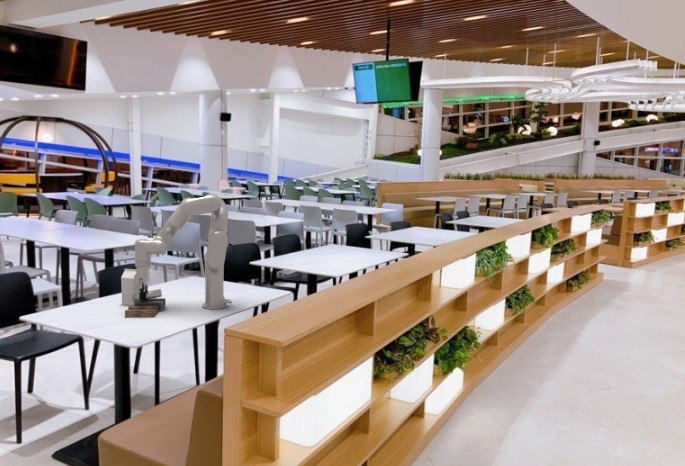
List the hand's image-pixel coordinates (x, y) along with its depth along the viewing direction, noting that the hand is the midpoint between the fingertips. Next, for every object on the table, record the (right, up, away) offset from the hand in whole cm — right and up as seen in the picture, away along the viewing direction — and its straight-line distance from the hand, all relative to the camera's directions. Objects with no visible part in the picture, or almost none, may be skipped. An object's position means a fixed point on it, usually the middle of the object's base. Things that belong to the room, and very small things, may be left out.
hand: (143, 298), depth 299 cm
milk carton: (-10, -5, +11) cm, 16 cm away
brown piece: (+2, -8, -9) cm, 12 cm away
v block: (+3, -6, +1) cm, 7 cm away
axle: (+2, -1, 0) cm, 2 cm away
